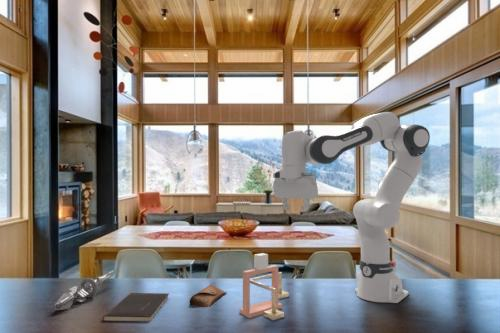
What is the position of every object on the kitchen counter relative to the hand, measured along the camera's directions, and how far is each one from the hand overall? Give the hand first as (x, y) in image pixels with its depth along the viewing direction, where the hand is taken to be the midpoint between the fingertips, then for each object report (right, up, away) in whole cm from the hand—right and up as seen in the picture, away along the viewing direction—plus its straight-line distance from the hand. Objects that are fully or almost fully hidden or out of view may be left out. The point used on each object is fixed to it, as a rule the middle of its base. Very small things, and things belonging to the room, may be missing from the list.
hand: (295, 210), depth 132 cm
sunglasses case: (-33, -36, +6) cm, 50 cm away
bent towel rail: (-7, -36, -1) cm, 36 cm away
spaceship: (-81, -36, +7) cm, 89 cm away
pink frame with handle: (-13, -35, -6) cm, 38 cm away
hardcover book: (-58, -36, -4) cm, 68 cm away
